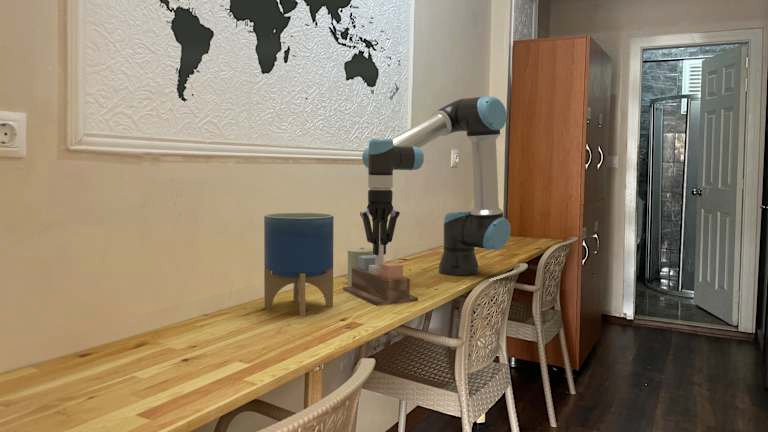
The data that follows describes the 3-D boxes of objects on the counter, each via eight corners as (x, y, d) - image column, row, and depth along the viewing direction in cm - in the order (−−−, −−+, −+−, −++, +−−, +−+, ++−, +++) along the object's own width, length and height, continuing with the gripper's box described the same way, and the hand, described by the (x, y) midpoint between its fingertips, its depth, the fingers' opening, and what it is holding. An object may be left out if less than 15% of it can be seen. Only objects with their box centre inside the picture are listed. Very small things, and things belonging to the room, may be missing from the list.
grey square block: (371, 274, 202) (371, 255, 201) (378, 277, 197) (378, 257, 197) (357, 275, 199) (357, 256, 199) (364, 278, 195) (364, 258, 194)
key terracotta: (394, 283, 187) (395, 262, 187) (402, 286, 183) (403, 264, 182) (380, 284, 185) (380, 263, 185) (387, 287, 181) (388, 266, 180)
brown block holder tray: (381, 286, 205) (381, 265, 205) (418, 301, 184) (418, 277, 183) (343, 289, 199) (343, 268, 198) (376, 305, 178) (376, 281, 177)
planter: (327, 298, 186) (328, 212, 184) (338, 314, 167) (338, 217, 165) (262, 301, 181) (262, 212, 179) (266, 317, 163) (265, 218, 160)
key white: (382, 284, 195) (382, 264, 194) (390, 287, 190) (390, 266, 190) (368, 285, 192) (368, 265, 192) (375, 288, 188) (375, 267, 187)
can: (375, 280, 215) (375, 246, 214) (372, 286, 206) (372, 250, 205) (349, 280, 216) (349, 246, 215) (345, 285, 206) (345, 249, 205)
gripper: (393, 188, 195) (392, 262, 197) (355, 188, 189) (355, 264, 191) (404, 189, 188) (403, 265, 190) (366, 189, 182) (365, 268, 184)
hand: (379, 265), depth 191 cm, fingers closed
